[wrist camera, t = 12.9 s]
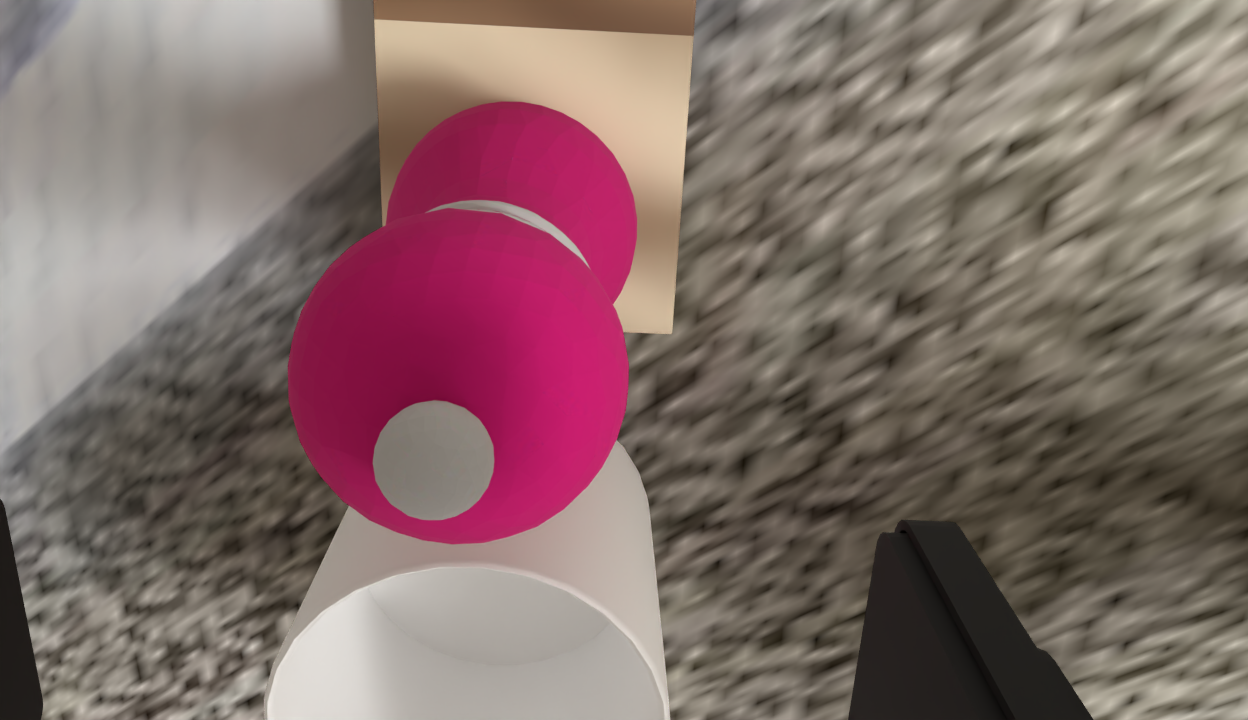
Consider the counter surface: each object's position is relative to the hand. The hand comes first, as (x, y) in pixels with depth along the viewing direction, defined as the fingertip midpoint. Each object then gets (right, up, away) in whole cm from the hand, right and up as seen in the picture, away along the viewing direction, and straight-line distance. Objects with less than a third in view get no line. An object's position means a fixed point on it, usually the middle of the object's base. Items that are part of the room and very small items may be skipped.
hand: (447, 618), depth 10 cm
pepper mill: (-1, +8, +22) cm, 24 cm away
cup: (-3, -4, +29) cm, 29 cm away
